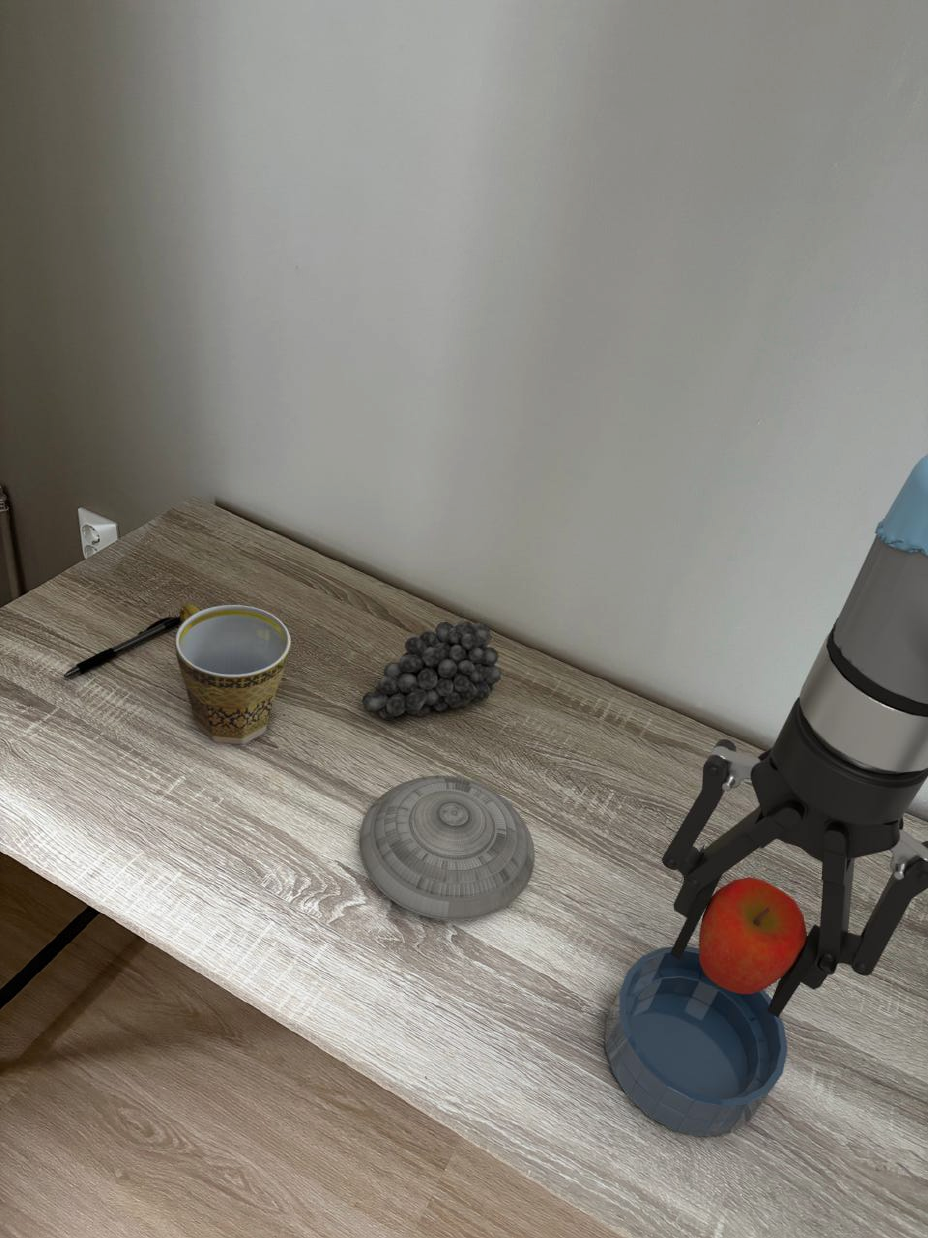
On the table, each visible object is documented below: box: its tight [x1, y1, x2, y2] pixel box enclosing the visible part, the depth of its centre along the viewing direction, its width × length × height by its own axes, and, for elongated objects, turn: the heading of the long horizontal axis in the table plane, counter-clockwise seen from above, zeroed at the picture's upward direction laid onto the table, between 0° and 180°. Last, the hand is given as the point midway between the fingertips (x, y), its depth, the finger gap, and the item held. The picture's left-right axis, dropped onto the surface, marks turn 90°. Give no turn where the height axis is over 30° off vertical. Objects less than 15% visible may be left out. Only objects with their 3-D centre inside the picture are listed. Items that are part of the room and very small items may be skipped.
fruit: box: [361, 620, 502, 721], centre depth 96 cm, size 9×8×15 cm
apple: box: [698, 876, 808, 994], centre depth 64 cm, size 6×6×8 cm
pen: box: [63, 615, 182, 679], centre depth 98 cm, size 14×2×1 cm, turn 141°
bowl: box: [604, 945, 788, 1137], centre depth 71 cm, size 12×12×5 cm
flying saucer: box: [358, 775, 536, 922], centre depth 82 cm, size 15×15×6 cm
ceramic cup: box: [174, 603, 292, 745], centre depth 90 cm, size 13×10×10 cm
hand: (729, 970), depth 66 cm, fingers closed on apple, 6 cm apart
